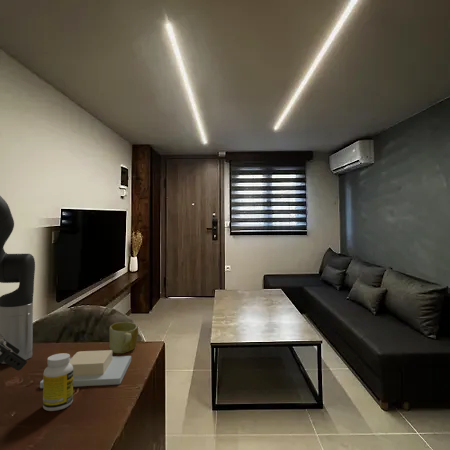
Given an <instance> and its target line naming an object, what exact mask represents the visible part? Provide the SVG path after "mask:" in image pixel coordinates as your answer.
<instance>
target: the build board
mask: <svg viewBox="0 0 450 450" xmlns="http://www.w3.org/2000/svg"><path fill="white" fill-rule="evenodd" d="M131 362H132V355H121V356H120V355H119V356H118V355H116V356H113V352H112V350H110V349H107V350H104V349H103V350H85V351H84V350H83V351H81V350H80V351H77V352H76V353H75V354H73V356H72V357H70V362H69V363H70V364H72V366H73V388H74V387H75V388H76V387H87V386H88V387H90V386H92V387H93V386H110V385H112V386H113V385H121V383H122V381H123V380H124V379H123V378H124V377H125V375H126V373H127V370H128V368H129V366H130V364H131ZM39 389H43V379H42V380H40V382H39Z"/></svg>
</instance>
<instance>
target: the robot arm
mask: <svg viewBox="0 0 450 450" xmlns="http://www.w3.org/2000/svg"><path fill="white" fill-rule="evenodd" d="M12 214H13V213H12V212H11V209H10V206H9V204H8V203H7V201H6V200H5V199H4V198H3V197H2V196H1V195H0V283H1V284H13V283H14V284H16V283H19V285H18V287H17V288H16V289H15V290H13V291H12V292H11V291H10V292H8V293H5V294H2V295H0V364H2V365H3V364H5V365H8V366H9V367H11V368H13V369H15V370H16V371H21V370H22V369H23V367H24V366H26V364H27V362H28V361H27V360H28V359H30V358H32V357H33V348H34V347H33V339H34V337H33V333H34V332H33V329H34V328H33V327H34V325H33V324H34V323H33V322H34V321H33V319H34V317H33V316H34V315H33V314H34V311H33V310H34V309H33V308H34V290H35V287H34V286H35V275H36V274H35V272H36V261H35V258H34V256H33V255H32V254H31V253H7V252H5V249H4V246H5V245H6V243H7V241H8V239H9V238H10V236H11V235H12V233H13V230H14V229H15V220H14V217H13V215H12Z"/></svg>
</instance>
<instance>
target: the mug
mask: <svg viewBox="0 0 450 450" xmlns="http://www.w3.org/2000/svg"><path fill="white" fill-rule="evenodd" d="M138 327H139V326H138V325H137V324H136V323H135V322H134V323H133V322H130V321H120V322H119V321H117V322H114V323H113V324H111V325H110V326H109V330H108V332H109V333H108V335H109V345H108V348H109V349H108V350H112V353H113V352H114V353H113V354H126V352H127V353H128V352H131V351H133V350H134V349H136V346H137V340H138V333H139V328H138Z"/></svg>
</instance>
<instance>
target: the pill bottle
mask: <svg viewBox="0 0 450 450" xmlns="http://www.w3.org/2000/svg"><path fill="white" fill-rule="evenodd" d="M70 358H71V355H70V354H69V353H66V352H65V353H63V352H62V353H55V354H52V355H50V356H48V357H47V360H46V361H47V363H46V364H47V366H46V367H45V369H44V371H43V374H42V375H43V376H42V378H43V379H42V380H43V388H42V389H43V390H42V408H43V409H44V410H45V411H48V412H57V411H60V410H64V409H66V408H68V407H70V405H72V403H73V401H74V387H73V366H72V364H70V363H69V362H70Z"/></svg>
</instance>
